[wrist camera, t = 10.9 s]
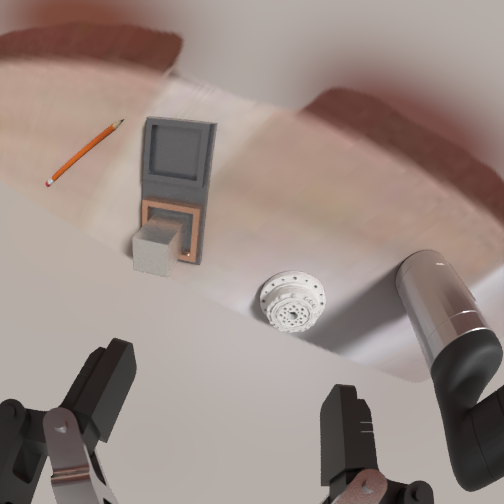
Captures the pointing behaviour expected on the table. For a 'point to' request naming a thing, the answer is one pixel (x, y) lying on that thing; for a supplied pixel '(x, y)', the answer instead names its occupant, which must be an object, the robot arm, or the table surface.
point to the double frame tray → (179, 175)
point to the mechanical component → (292, 301)
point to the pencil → (83, 152)
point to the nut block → (160, 243)
